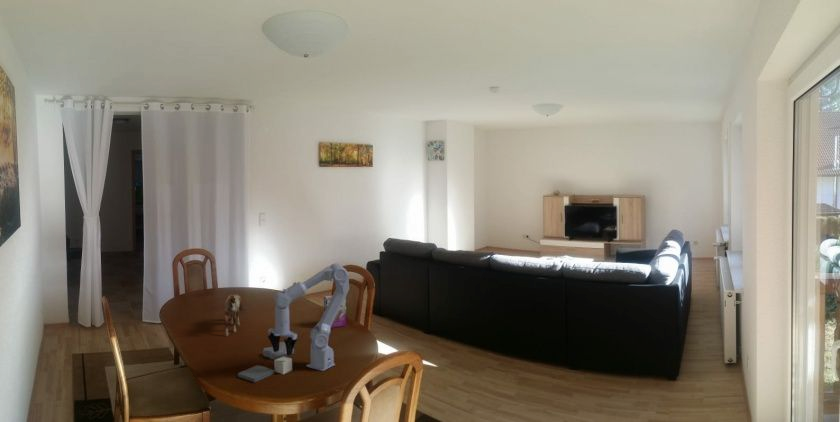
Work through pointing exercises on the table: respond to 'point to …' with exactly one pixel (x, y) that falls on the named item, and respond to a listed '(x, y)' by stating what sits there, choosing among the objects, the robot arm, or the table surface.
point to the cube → (283, 365)
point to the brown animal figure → (232, 310)
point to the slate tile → (256, 373)
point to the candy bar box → (341, 315)
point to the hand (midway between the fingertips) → (282, 353)
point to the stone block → (274, 355)
